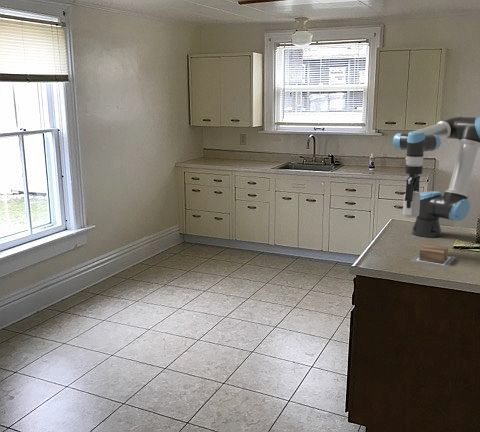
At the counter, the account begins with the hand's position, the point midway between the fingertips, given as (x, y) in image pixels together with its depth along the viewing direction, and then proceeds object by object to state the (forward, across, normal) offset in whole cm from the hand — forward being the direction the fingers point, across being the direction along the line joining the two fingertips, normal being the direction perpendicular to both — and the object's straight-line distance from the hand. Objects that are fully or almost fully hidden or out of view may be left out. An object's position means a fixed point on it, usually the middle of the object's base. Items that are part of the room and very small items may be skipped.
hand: (411, 212), depth 249 cm
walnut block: (+18, +9, +14) cm, 25 cm away
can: (+2, 0, 0) cm, 2 cm away
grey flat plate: (+19, +9, +14) cm, 25 cm away
